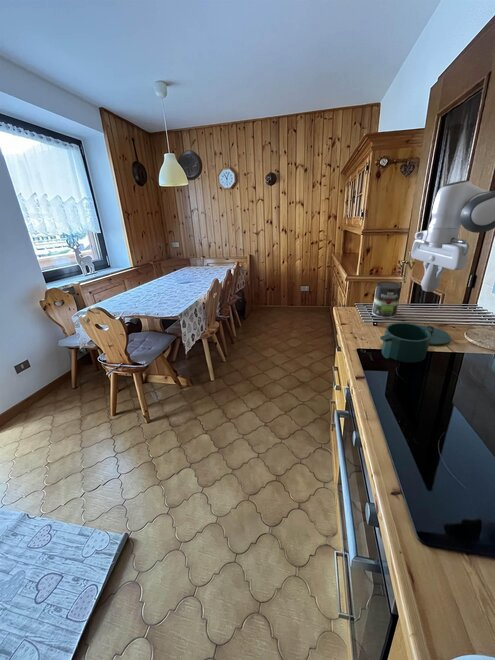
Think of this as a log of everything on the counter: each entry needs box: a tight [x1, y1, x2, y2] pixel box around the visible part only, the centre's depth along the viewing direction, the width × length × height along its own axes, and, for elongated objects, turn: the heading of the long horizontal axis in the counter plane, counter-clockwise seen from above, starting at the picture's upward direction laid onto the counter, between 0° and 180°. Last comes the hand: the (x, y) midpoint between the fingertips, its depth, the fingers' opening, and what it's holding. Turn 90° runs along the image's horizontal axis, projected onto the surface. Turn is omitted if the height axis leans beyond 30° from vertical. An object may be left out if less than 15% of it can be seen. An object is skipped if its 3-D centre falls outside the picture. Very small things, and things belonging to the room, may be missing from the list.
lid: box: [421, 325, 452, 346], centre depth 109 cm, size 15×15×4 cm
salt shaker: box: [420, 255, 441, 293], centre depth 100 cm, size 6×6×13 cm
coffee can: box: [371, 280, 403, 319], centre depth 128 cm, size 10×10×14 cm
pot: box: [379, 322, 434, 363], centre depth 98 cm, size 14×19×10 cm
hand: (432, 276), depth 100 cm, fingers closed on salt shaker, 3 cm apart
